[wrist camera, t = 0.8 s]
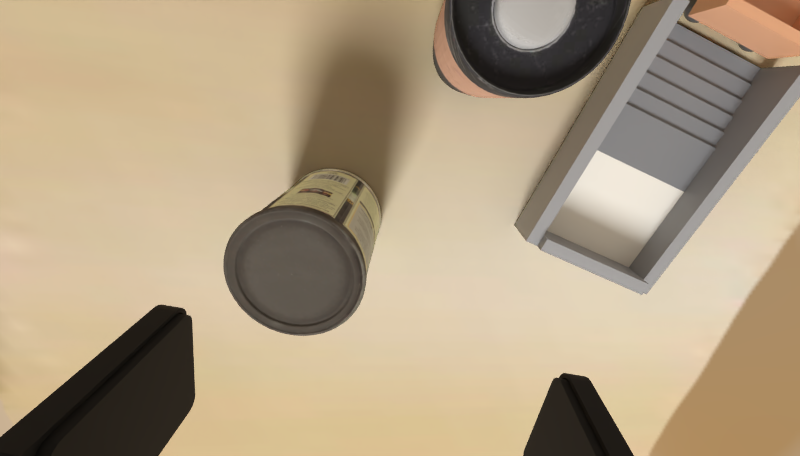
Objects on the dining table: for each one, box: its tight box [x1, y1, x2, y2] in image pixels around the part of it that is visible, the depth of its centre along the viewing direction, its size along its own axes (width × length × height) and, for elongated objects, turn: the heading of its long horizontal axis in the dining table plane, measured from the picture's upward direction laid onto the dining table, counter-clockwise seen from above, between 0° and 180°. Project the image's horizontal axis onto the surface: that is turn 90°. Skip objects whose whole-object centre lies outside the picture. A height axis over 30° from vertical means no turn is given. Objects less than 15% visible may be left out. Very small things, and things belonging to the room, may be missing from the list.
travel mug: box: [433, 0, 631, 98], centre depth 25 cm, size 8×8×20 cm
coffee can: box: [224, 169, 381, 336], centre depth 33 cm, size 10×10×14 cm
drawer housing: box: [515, 0, 800, 295], centre depth 34 cm, size 22×13×6 cm, turn 156°
